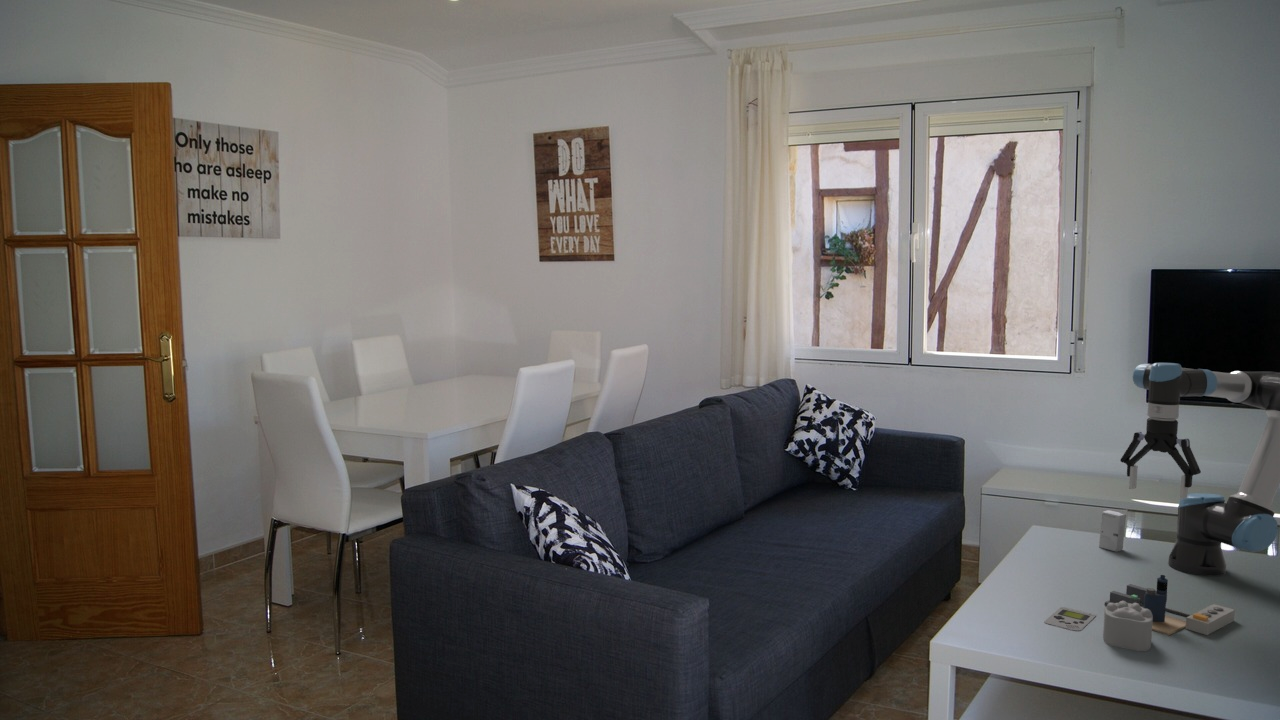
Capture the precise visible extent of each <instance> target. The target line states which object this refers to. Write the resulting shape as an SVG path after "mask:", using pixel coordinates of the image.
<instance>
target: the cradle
mask: <svg viewBox="0 0 1280 720" xmlns="http://www.w3.org/2000/svg"><path fill="white" fill-rule="evenodd" d="M1147 588H1148V587H1144V586H1143V587H1142V586H1138V585H1135V584H1131V583H1130V584H1126V593H1124V592H1119V591H1116V590H1112V591H1109V592H1110V593H1109V600H1106V601H1104V606H1105V607H1106V606H1107V604H1108V603H1119V602H1120V601H1126V602H1127V603H1131V604H1133V603H1138V604H1139V605H1140V606H1141V605H1143V606H1144V595H1145V594H1146V592H1147ZM1156 591H1157V590H1156ZM1156 591H1155V592H1156ZM1165 612H1169V613H1172V614H1175V615H1178V616H1180V617H1181V616H1182V617H1185V618H1186V617H1188V616H1190V615H1191V614H1188V613H1186V612H1182V611H1179V610H1174V609H1172V608H1167V607H1166V609H1165Z"/></svg>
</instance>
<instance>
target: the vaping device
mask: <svg viewBox="0 0 1280 720" xmlns="http://www.w3.org/2000/svg"><path fill="white" fill-rule="evenodd" d="M1156 579H1157V580H1156V589H1155V588H1151V587H1146V588H1147V592H1146V594H1145V595H1144V605H1143V608H1145V609H1149V610H1150V611H1151V612H1152V615H1153V622H1165V615H1166V611H1165V609H1166V608H1167V607H1166V604H1167V601H1168V581H1169V579H1167V578H1166V575H1164V574H1160V577H1157V578H1156ZM1155 591H1156V592H1155Z"/></svg>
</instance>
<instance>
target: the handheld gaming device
mask: <svg viewBox="0 0 1280 720" xmlns="http://www.w3.org/2000/svg"><path fill="white" fill-rule="evenodd" d="M1096 617H1097V615H1096V614H1095V613H1091V612H1088V611H1084V610H1083V611H1082V610H1079V609H1074V608H1069V607H1066V606H1060V607H1059V608H1058V609H1057V610H1055V611H1054V612H1053V613H1052V614H1051V615H1050V616H1049V617H1047V618H1046V619H1045V620H1044V622H1043V623H1044V624H1046V625H1049V626H1052V627H1053V626H1054V627H1057V628H1062V629H1066V630H1069V631H1073V632H1081V631H1083V630H1084V629H1085V628H1086V627H1087V626H1088V625H1089V624H1090V623H1091V622H1092V621H1093V620H1094V619H1095V618H1096Z"/></svg>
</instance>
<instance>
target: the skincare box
mask: <svg viewBox="0 0 1280 720" xmlns="http://www.w3.org/2000/svg"><path fill="white" fill-rule="evenodd" d="M1126 519H1127V514H1126V513H1121V512H1118V511H1114V510H1110V509H1108V510H1104V511H1102V512H1101V522H1100V530H1099V541H1098V543H1099V545H1098V547H1099V548H1102V549H1105V550H1109V551H1113V552H1120V551H1123V549H1124V539H1125V530H1126V528H1125V527H1126Z"/></svg>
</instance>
